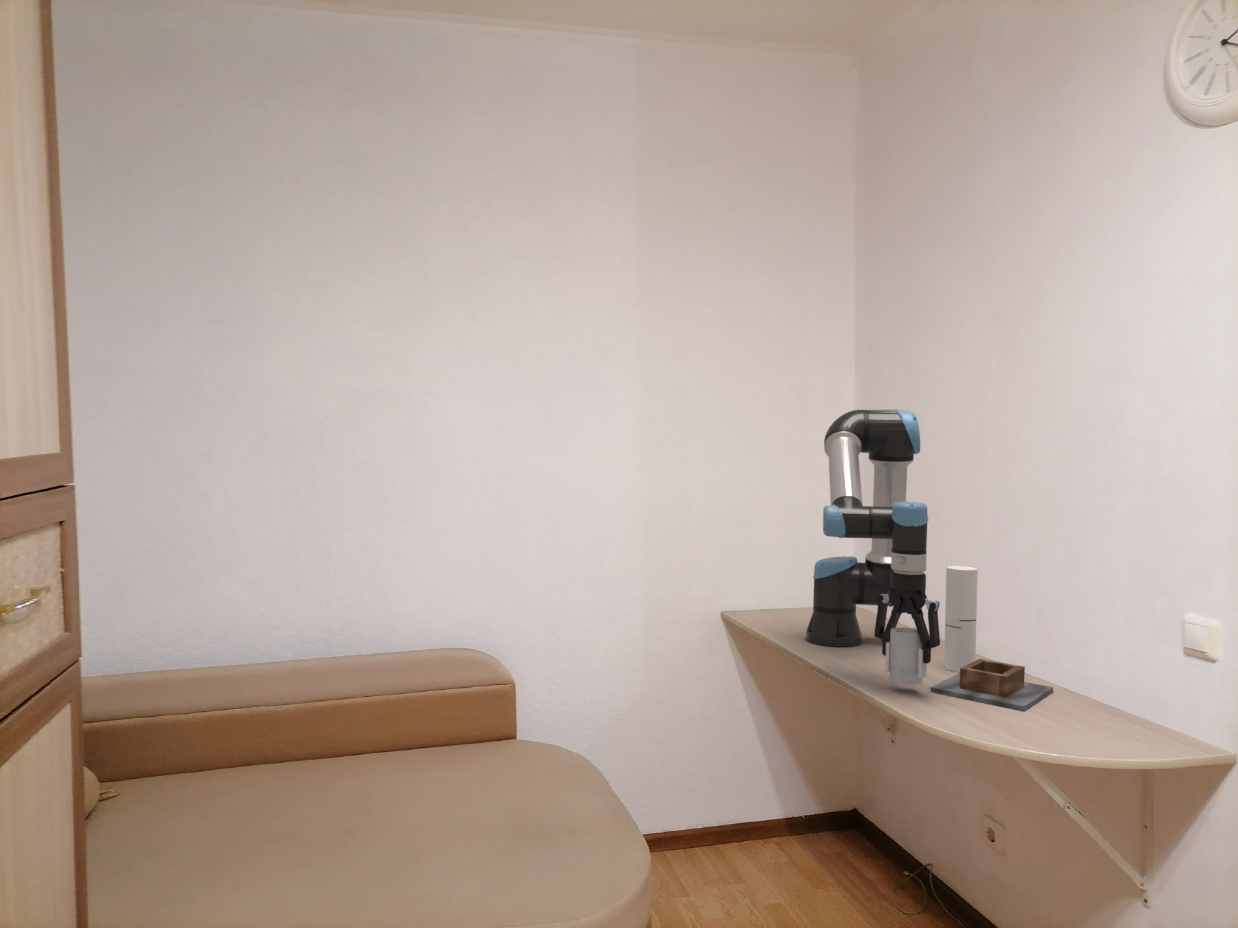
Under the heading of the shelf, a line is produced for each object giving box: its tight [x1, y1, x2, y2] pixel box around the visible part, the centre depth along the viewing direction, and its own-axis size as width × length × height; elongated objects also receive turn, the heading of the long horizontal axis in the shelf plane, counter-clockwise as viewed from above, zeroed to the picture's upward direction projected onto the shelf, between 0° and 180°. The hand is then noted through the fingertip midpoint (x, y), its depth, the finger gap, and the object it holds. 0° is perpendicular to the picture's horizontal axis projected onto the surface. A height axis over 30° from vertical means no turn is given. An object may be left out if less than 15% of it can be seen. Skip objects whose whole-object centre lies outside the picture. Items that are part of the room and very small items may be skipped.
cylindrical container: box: [943, 565, 979, 673], centre depth 217 cm, size 7×7×25 cm
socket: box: [929, 658, 1054, 712], centre depth 198 cm, size 20×20×6 cm
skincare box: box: [889, 627, 923, 685], centre depth 197 cm, size 6×4×12 cm
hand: (905, 673), depth 197 cm, fingers closed on skincare box, 7 cm apart
